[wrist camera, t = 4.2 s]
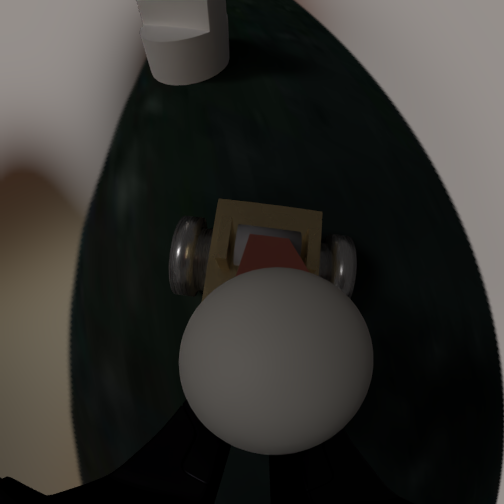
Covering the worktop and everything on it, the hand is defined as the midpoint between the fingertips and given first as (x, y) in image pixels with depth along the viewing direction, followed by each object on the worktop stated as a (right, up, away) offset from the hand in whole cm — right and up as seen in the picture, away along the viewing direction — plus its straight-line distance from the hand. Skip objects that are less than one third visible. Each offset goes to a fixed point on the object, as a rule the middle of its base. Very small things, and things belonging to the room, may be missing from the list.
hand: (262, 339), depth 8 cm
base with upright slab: (-7, +24, +18) cm, 31 cm away
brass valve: (0, +1, +12) cm, 12 cm away
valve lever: (0, +3, +5) cm, 6 cm away
